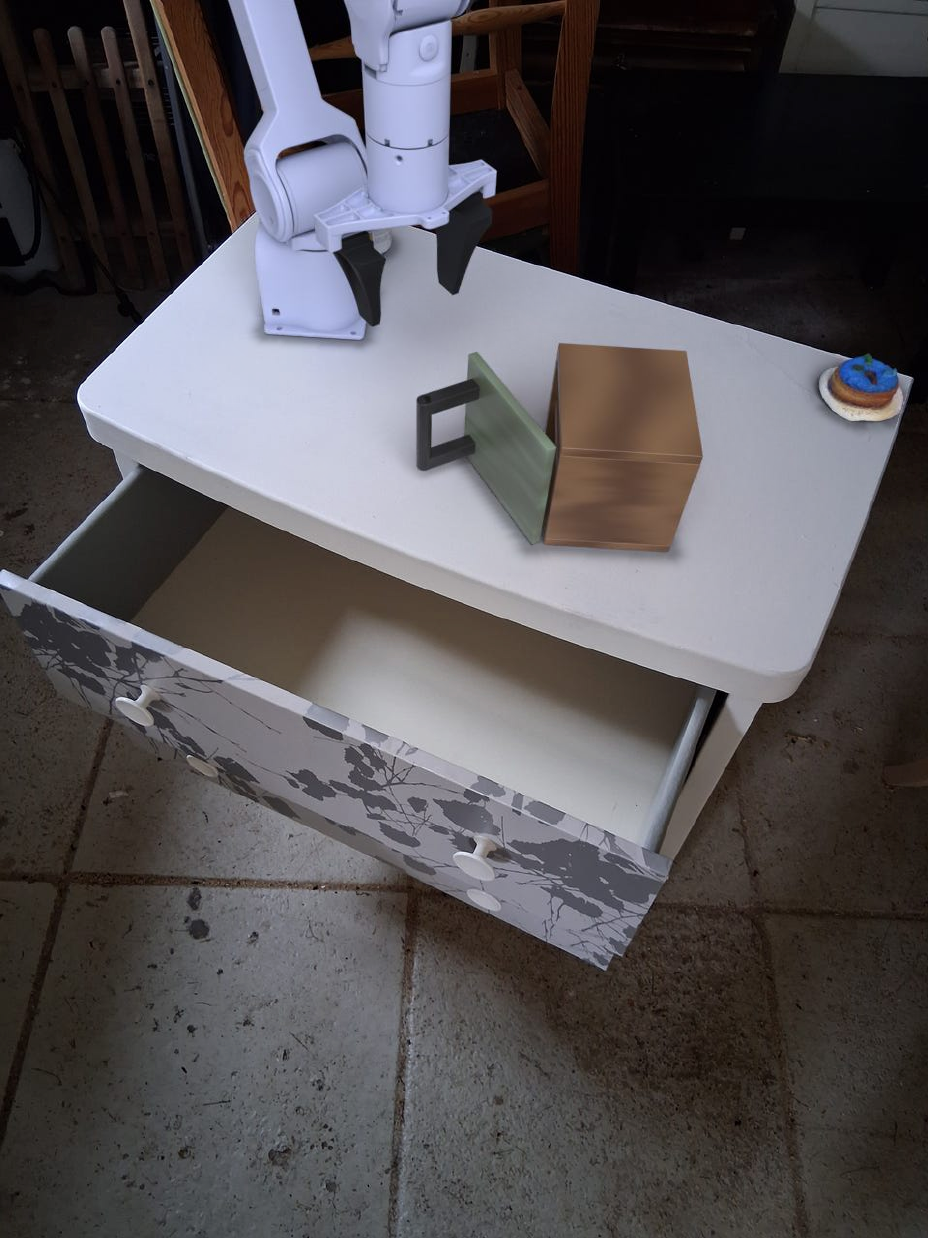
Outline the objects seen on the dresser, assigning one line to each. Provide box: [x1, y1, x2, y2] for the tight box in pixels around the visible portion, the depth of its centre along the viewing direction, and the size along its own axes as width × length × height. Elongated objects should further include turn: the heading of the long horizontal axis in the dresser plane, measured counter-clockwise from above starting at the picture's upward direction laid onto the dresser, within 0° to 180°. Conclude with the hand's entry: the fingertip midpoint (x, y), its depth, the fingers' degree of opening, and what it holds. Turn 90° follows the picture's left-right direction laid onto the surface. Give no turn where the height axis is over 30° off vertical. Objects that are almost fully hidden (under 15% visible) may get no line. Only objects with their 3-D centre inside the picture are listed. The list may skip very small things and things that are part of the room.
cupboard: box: [543, 342, 704, 553], centre depth 70 cm, size 10×12×11 cm
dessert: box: [818, 353, 904, 422], centre depth 82 cm, size 8×7×6 cm
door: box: [415, 351, 556, 545], centre depth 69 cm, size 6×12×10 cm, turn 28°
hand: (409, 303), depth 71 cm, fingers open, 7 cm apart
